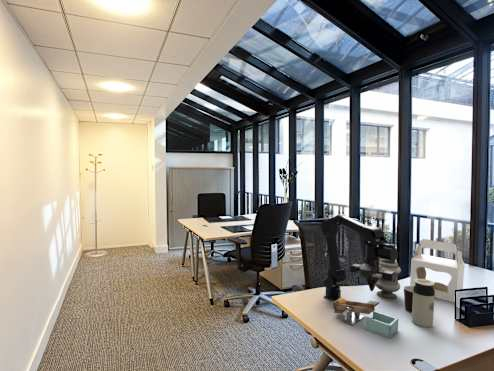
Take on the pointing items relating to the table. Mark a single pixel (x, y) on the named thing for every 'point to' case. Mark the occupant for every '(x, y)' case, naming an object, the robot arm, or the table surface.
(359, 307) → the lever
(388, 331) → the bin
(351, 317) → the fulcrum
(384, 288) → the apothecary jar
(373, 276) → the robot arm
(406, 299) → the coffee mug
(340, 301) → the ball
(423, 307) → the travel mug
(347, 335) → the table surface
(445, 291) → the gable box
